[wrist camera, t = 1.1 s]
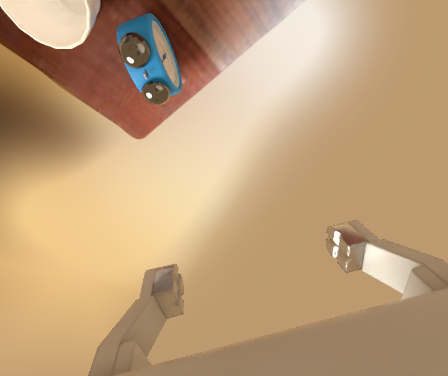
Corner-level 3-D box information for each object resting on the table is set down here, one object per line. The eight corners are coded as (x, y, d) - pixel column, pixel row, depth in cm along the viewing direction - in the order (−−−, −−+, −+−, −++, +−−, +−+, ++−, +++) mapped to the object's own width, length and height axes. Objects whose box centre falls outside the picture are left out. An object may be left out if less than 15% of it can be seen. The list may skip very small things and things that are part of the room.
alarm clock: (184, 78, 49) (179, 109, 39) (159, 86, 50) (147, 118, 40) (156, 6, 40) (139, 22, 30) (126, 18, 41) (100, 37, 31)
